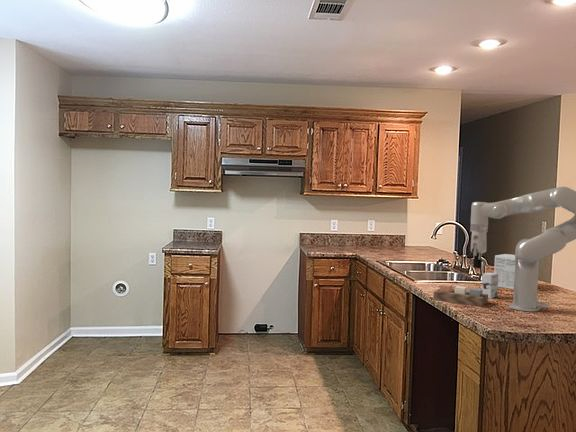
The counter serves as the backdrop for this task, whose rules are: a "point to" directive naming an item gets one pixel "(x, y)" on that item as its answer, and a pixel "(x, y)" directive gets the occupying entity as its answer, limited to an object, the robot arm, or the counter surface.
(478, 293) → the key slate
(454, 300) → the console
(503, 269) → the supplement box
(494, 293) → the ink box
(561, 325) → the counter surface
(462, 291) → the key ivory
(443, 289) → the key terracotta
